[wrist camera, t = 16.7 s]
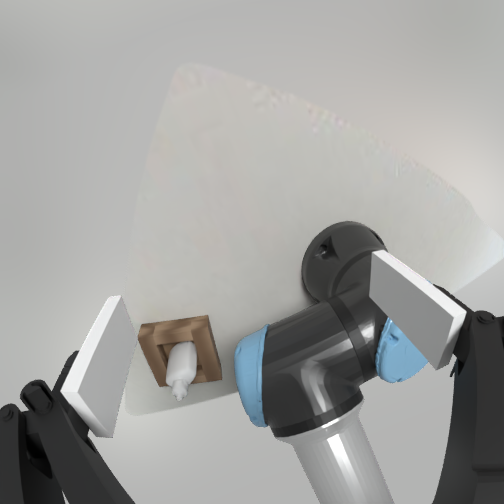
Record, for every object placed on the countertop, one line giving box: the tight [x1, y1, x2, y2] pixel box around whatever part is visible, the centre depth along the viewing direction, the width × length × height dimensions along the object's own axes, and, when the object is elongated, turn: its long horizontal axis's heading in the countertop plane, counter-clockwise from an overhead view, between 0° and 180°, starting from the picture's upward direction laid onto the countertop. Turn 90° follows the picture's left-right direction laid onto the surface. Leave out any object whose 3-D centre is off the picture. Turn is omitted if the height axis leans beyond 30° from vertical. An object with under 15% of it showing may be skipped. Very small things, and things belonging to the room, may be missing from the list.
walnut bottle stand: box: [138, 315, 222, 387], centre depth 47 cm, size 12×12×4 cm
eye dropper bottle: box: [166, 341, 197, 401], centre depth 42 cm, size 4×6×12 cm
